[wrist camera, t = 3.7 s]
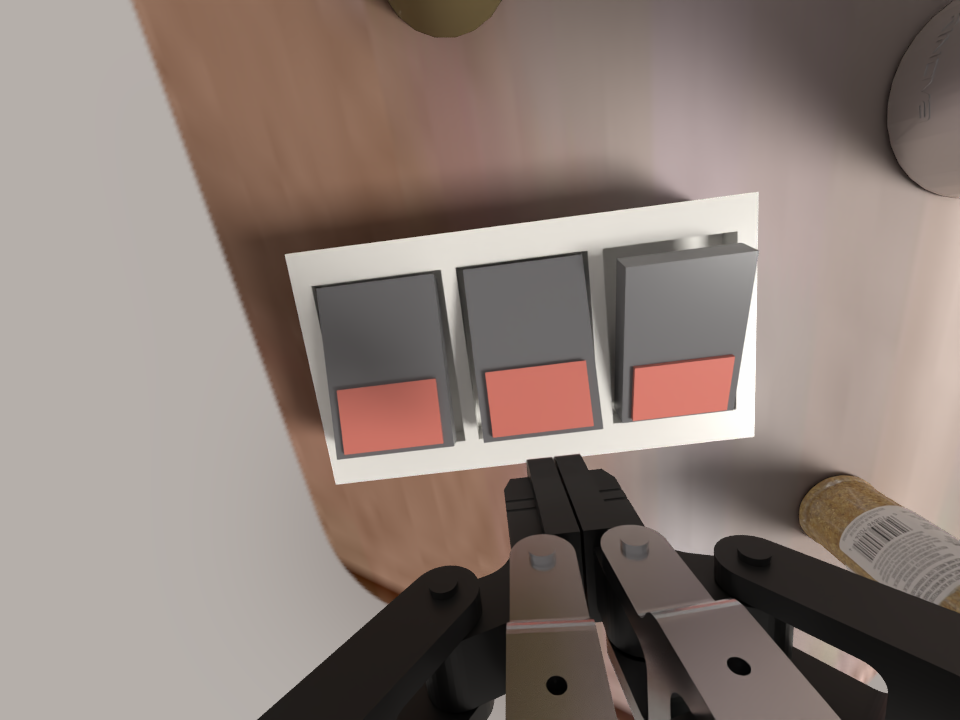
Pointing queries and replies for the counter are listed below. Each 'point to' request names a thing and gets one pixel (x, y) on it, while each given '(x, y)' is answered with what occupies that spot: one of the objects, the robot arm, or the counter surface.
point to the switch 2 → (681, 330)
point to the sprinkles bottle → (883, 540)
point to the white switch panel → (600, 249)
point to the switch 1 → (386, 366)
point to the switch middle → (533, 349)
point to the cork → (444, 15)
